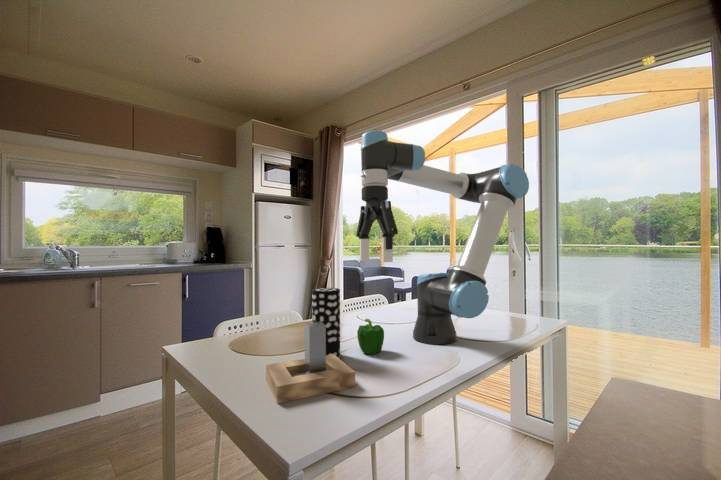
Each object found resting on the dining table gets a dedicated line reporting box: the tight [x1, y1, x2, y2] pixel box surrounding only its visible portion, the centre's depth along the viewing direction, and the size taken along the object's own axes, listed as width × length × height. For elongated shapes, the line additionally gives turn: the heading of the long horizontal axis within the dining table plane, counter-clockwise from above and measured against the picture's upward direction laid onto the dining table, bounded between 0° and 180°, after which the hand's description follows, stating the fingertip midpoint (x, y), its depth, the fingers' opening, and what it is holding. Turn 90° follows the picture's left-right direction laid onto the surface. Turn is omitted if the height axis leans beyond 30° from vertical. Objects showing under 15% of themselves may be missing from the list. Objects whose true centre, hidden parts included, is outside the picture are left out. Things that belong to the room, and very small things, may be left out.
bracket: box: [293, 321, 326, 377], centre depth 78 cm, size 7×4×14 cm, turn 115°
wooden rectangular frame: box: [265, 354, 356, 404], centre depth 78 cm, size 18×14×4 cm
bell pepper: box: [357, 318, 385, 355], centre depth 101 cm, size 8×8×10 cm
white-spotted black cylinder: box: [311, 287, 341, 359], centre depth 97 cm, size 8×8×20 cm
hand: (375, 261), depth 92 cm, fingers open, 13 cm apart
